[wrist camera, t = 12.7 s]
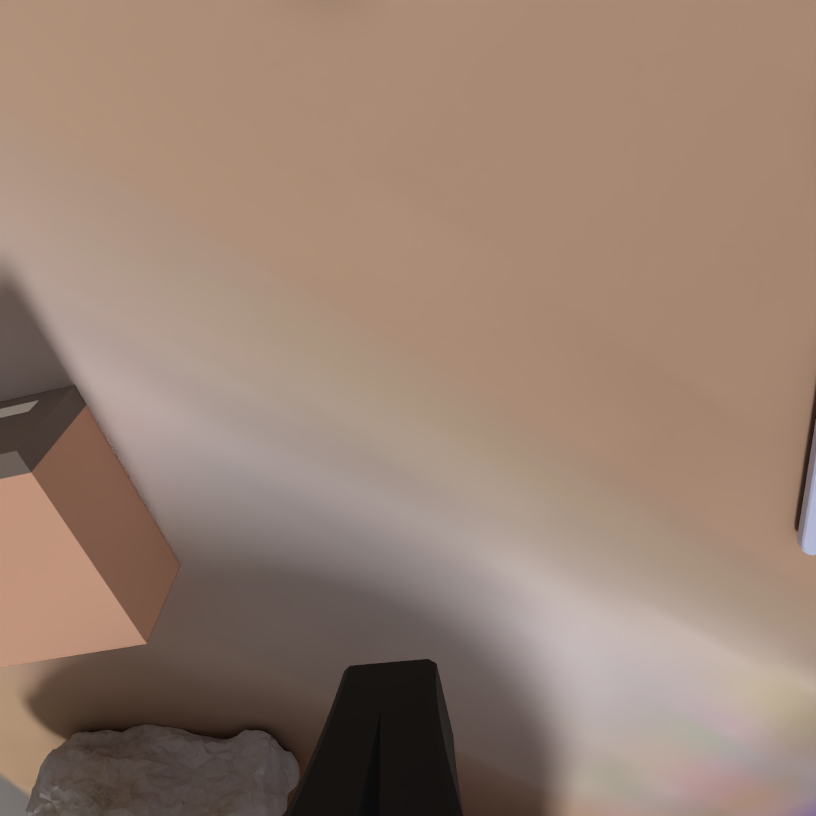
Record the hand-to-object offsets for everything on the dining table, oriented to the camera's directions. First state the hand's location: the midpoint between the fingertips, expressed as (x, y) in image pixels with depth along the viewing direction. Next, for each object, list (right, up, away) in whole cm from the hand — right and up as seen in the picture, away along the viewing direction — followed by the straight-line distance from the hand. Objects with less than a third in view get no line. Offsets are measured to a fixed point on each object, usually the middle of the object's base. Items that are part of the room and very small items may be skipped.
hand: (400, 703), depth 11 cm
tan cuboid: (-12, +4, +8) cm, 15 cm away
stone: (-10, -10, +20) cm, 24 cm away
